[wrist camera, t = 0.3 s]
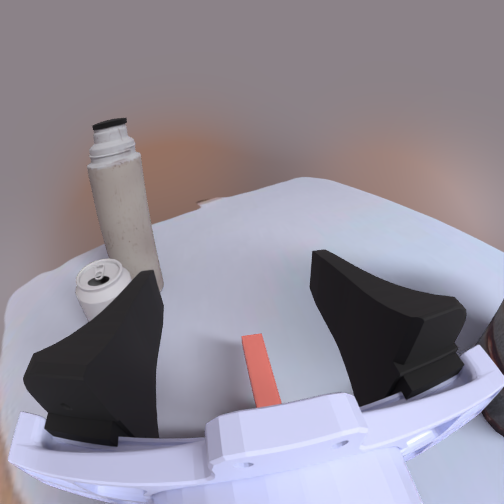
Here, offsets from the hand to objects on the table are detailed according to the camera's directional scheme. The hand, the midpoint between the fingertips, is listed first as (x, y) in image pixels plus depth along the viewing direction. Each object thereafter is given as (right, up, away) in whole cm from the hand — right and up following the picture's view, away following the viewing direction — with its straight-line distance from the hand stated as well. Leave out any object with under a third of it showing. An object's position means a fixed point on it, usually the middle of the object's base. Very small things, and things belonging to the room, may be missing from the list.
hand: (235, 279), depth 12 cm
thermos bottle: (-18, -5, +33) cm, 38 cm away
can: (-17, -11, +23) cm, 31 cm away
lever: (+2, -12, +12) cm, 17 cm away
